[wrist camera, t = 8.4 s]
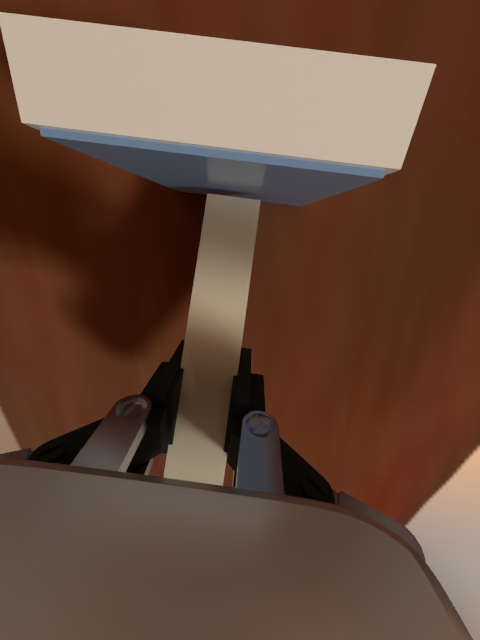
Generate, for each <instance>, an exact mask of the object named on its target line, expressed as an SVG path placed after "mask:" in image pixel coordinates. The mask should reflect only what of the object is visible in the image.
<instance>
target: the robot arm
mask: <svg viewBox="0 0 480 640" xmlns="http://www.w3.org/2000/svg"><path fill="white" fill-rule="evenodd" d="M184 342H185V340H182V341H181V343H180V345H179V346H178V348H177V349H176V351H175V353H174V354H173V356H172V358H171V359H170V361H169V362H162V363H161V364H160V365H159V367H158V368H157V370H156V372H155V373H154V375H153V376H152V378H151V379H150V381H149V382H148V384H147V385H146V387H145V388H144V390H143V391H142V393H141V394H140V395H129V396H126V397H124V398H122V399H120V400H119V401H117V402H116V403H115V405H114V406H113V407H112V408H111V410H110V411H109V412H108V414H107V415H106V417H105V418H103V419H101V420H98V421H96V422H93V423H91V424H88V425H86V426H84V427H81V428H79V429H76V430H74V431H72V432H69V433H67V434H64V435H62V436H60V437H57V438H55V439H52V440H50V441H48V442H46V443H44V444H43V445H41V446H40V447H38V448H37V449H36V450H35V451H32V450H31V448H28V449H23V450H18V451H14V452H9V453H4V454H0V640H473V639H472V637H471V635H470V634H469V632H468V630H467V628H466V626H465V625H464V623H463V621H462V619H461V618H460V616H459V614H458V612H457V611H456V609H455V607H454V606H453V604H452V602H451V600H450V599H449V597H448V595H447V594H446V592H445V591H444V589H443V587H442V585H441V584H440V582H439V581H438V579H437V578H436V576H435V575H434V573H433V572H432V570H431V569H430V568H429V566H428V565H427V564H426V562H425V557H424V554H423V551H422V548H421V546H420V544H419V543H418V541H417V540H416V538H415V536H414V535H412V533H411V532H410V531H409V530H408V529H407V528H406V527H404V526H403V525H402V524H400V523H399V522H397V521H395V520H394V519H392V518H390V517H388V516H386V515H384V514H383V513H381V512H379V511H377V510H375V509H373V508H371V507H370V506H368V505H366V504H364V503H362V502H360V501H359V500H357V499H355V498H353V497H351V496H349V495H347V494H346V493H344V492H342V491H340V493H337V492H335V491H333V490H332V488H331V487H330V485H329V483H328V482H327V481H326V480H325V479H324V477H322V476H321V475H320V474H319V473H318V472H317V471H316V470H315V469H314V468H313V467H312V466H311V465H309V464H308V463H307V462H306V461H305V460H304V459H303V458H302V457H301V456H300V455H299V454H298V453H296V452H295V451H294V450H293V449H292V448H291V447H290V446H289V445H288V444H287V443H286V442H285V441H284V440H282V439H281V438H280V437H279V427H278V424H277V422H276V420H275V419H274V418H273V417H272V416H271V415H270V414H268V413H266V412H265V397H264V379H263V375H259V374H252V373H251V349H248V348H241V352H240V360H239V367H238V375H237V376H235V375H234V376H233V383H232V390H231V397H230V405H229V412H228V420H227V428H226V435H225V443H224V451H223V452H227V453H228V457H227V462H228V464H229V465H230V466H231V467H232V469H233V470H234V475H233V485H232V487H228V486H221V485H214V484H207V483H200V482H192V481H185V480H178V479H171V478H164V477H156V476H149V472H150V470H151V467H152V465H153V462H154V457H155V456H157V455H159V454H160V453H166V454H167V451H168V445H169V444H170V445H173V439H174V433H175V426H176V419H177V413H178V406H179V400H180V393H181V387H182V380H183V373H184V369H183V368H180V367H181V361H182V355H183V348H184Z"/></svg>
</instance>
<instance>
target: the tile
mask: <svg viewBox="0 0 480 640" xmlns="http://www.w3.org/2000/svg"><path fill="white" fill-rule="evenodd" d="M0 27H1V31H2V36H3V40H4V45H5V49H6V54H7V58H8V63H9V68H10V72H11V77H12V81H13V86H14V90H15V95H16V99H17V104H18V109H19V113H20V118H21V122H22V123H23V124H26V125H28V126H30V127H33V128H35V129H37V130H40V134H41V136H42V137H45V138H47V139H50V140H52V141H54V142H57V143H59V144H62V145H64V146H67V147H69V148H72V149H74V150H77V151H79V152H82V153H84V154H87V155H89V156H92V157H94V158H97V159H99V160H101V161H104V162H106V163H109V164H111V165H114V166H116V167H119V168H121V169H124V170H126V171H129V172H131V173H134V174H136V175H139V176H141V177H143V178H146V179H148V180H151V181H153V182H156V183H158V184H161V185H163V186H166V187H168V188H171V189H173V190H176V191H180V192H188V193H196V194H204V195H207V193H208V194H216V195H224V196H231V197H239V198H247V199H255V200H261V201H260V202H268V203H276V204H284V205H292V206H300V207H301V206H304V205H307V204H309V203H312V202H315V201H318V200H321V199H324V198H327V197H330V196H333V195H336V194H339V193H342V192H345V191H348V190H351V189H354V188H357V187H359V186H362V185H365V184H368V183H371V182H374V181H377V180H380V179H383V178H384V175H387V174H389V173H392V172H395V171H398V170H401V167H402V164H403V161H404V158H405V155H406V152H407V149H408V146H409V144H410V141H411V138H412V135H413V132H414V129H415V126H416V123H417V120H418V117H419V114H420V111H421V108H422V105H423V102H424V100H425V97H426V94H427V91H428V88H429V85H430V82H431V79H432V76H433V73H434V70H435V67H436V64H430V63H421V62H413V61H405V60H396V59H388V58H380V57H371V56H363V55H355V54H346V53H338V52H330V51H321V50H313V49H305V48H296V47H288V46H280V45H271V44H263V43H254V42H246V41H238V40H229V39H221V38H213V37H204V36H196V35H188V34H179V33H171V32H163V31H154V30H146V29H138V28H129V27H121V26H113V25H104V24H96V23H88V22H79V21H71V20H62V19H54V18H46V17H37V16H29V15H21V14H12V13H4V12H0Z"/></svg>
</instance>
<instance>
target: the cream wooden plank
mask: <svg viewBox="0 0 480 640" xmlns="http://www.w3.org/2000/svg"><path fill="white" fill-rule="evenodd" d="M260 201H261V200H255V199H247V198H239V197H231V196H224V195H216V194H208V193H207V199H206V206H205V212H204V219H203V225H202V232H201V238H200V245H199V251H198V258H197V264H196V270H195V277H194V283H193V290H192V296H191V303H190V309H189V316H188V322H187V329H186V335H185V342H184V348H183V355H182V361H181V367H180V368H183V369H184V373H183V380H182V387H181V393H180V400H179V406H178V413H177V419H176V426H175V433H174V439H173V445H170V444H169V445H168V451H167V458H166V464H165V471H164V478H171V479H178V480H185V481H192V482H200V483H207V484H214V485H221V486H223V481H224V473H225V466H226V458H227V452H223V451H224V443H225V435H226V428H227V420H228V412H229V405H230V397H231V390H232V383H233V376H234V375H235V376H237V375H238V367H239V360H240V352H241V345H242V337H243V330H244V322H245V315H246V307H247V299H248V292H249V284H250V277H251V269H252V262H253V254H254V247H255V239H256V231H257V224H258V216H259V209H260Z"/></svg>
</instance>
